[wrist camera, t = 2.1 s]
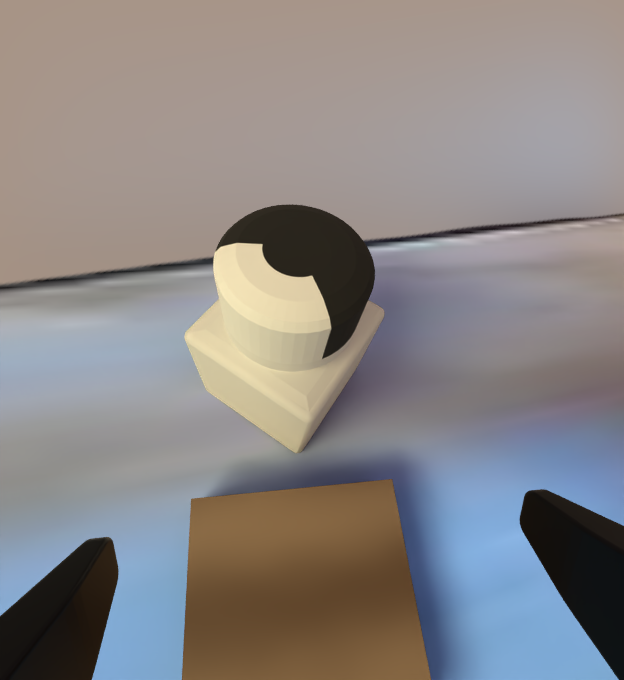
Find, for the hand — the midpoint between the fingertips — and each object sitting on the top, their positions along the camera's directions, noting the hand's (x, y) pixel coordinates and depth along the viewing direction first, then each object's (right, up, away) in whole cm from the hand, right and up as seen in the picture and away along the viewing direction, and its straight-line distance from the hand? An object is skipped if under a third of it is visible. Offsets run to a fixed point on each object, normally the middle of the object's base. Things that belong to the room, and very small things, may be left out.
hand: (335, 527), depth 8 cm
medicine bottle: (-2, +1, +16) cm, 16 cm away
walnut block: (-1, -9, +10) cm, 14 cm away
